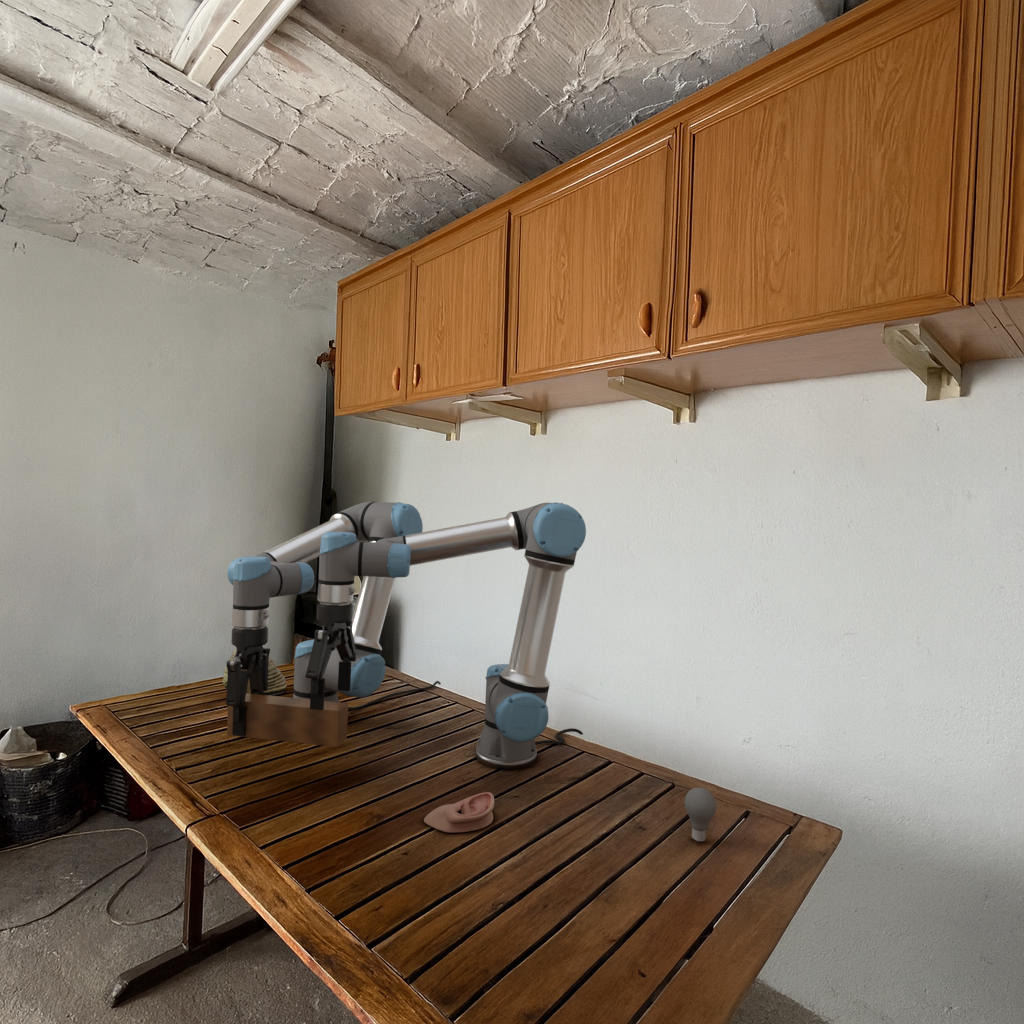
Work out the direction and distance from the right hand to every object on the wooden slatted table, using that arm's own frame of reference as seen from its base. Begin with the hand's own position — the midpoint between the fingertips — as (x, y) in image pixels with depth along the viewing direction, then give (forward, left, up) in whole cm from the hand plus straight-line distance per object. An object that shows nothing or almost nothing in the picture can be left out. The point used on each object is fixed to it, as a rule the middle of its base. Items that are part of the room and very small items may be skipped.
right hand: (330, 699), depth 138 cm
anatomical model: (-21, +25, -19) cm, 38 cm away
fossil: (+9, -71, -19) cm, 74 cm away
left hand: (+16, -11, -9) cm, 21 cm away
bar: (+8, -6, -9) cm, 13 cm away
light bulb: (-61, +50, -19) cm, 81 cm away
